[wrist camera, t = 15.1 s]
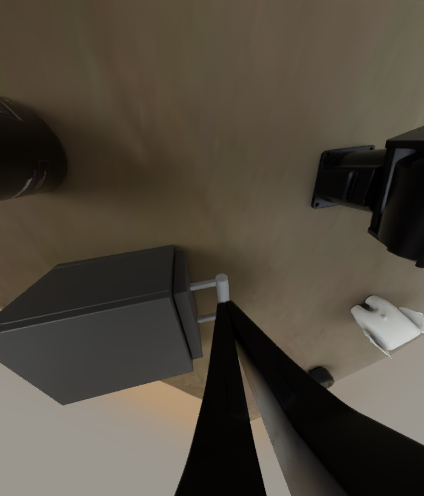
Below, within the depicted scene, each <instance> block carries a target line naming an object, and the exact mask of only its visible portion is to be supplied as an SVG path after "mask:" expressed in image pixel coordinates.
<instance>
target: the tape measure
mask: <svg viewBox="0 0 424 496" xmlns="http://www.w3.org/2000/svg"><path fill="white" fill-rule="evenodd" d="M309 375H310V376H311V377H313V378H314V379H315V380H316V381H318V382H319V383H320V384H321V385H322V386H324V387H325V388H326V389H327V388H329V387H331V386H332V385H333V384H334V380H333V377H332V375H331V374H330V372H329V371H328V370H326V369H325V368H318V369H315V370H314V371H312V372H310V373H309Z"/></svg>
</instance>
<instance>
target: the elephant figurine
mask: <svg viewBox="0 0 424 496" xmlns="http://www.w3.org/2000/svg"><path fill="white" fill-rule="evenodd" d="M365 302H366V303H367V304H368V305H369V308H370V309H371V310H372V311H367V310H365V309H364V308H362V307H361V306H360V305H356V306H354V307H353V308H352V309H351V311H350V312H351V313H352V314H353V315H354V318H355V320H356V321H357V322H358V323H359V325H360V326H361V327H362V328H363V332H364V334H365V335H366V336H367V337H368V338H370V341H371V342H372V343H373V344H374V345H376V346H377V347H378V348H379V349H380V350H381V351H383V352H384V353H385V354H386V355H388V356H389V357H390V354H389V352H388V350H393V349H395V348H397V347H398V346H400V345H402V344H404V343H406V342H408V341H410V340H411V339H413V338H415V337H417V336H418V335H419V334H420V333H424V315H423V314H422V313H420V312H415V311H412V310H410V309H408V308H404V307H400V308H398V309H397V308H396V307H395V306H393V305H392V304H391V303H389V302H388V301H386V300H384V299H382V298H379V297H377V296H374V295H373V296H370V297H368V298H367V299H366V301H365ZM364 329H365V330H364ZM367 331H368V332H369V333H370V334H371V335H369V334H368V332H367ZM390 358H391V357H390ZM391 359H392V358H391Z"/></svg>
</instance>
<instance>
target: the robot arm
mask: <svg viewBox="0 0 424 496" xmlns="http://www.w3.org/2000/svg"><path fill="white" fill-rule="evenodd" d="M385 148H386V149H379V150H374V149H375V146H374V145H368V146H359V147H351V148H343V149H334V150H326V151H324V152H323V153H322V155H321V159H320V164H319V169H318V174H317V179H316V184H315V188H314V193H313V198H312V203H311V207H312V208H322V207H329V206H335V205H343V206H347V207H351V208H355V209H359V210H363V211H367V212H371V213H373V214H372V219H371V224H370V227H369V228H368V233H369V234H370V235H372V236H373V237H375V238H376V239H377V240H379V241H380V242H381V243H383V244H384V245H385V246H387V250H388V251H389V252H391V253H393V254H395V255H397V256H399V257H402V258H405V259H408V260H411V261H415V262H416V264H415V266H416V267H419V268H424V126H422V127H419V128H417V129H414V130H411V131H409V132H406V133H404V134H401V135H399V136H396V137H393V138H391V139H388V140H387V141H386V145H385ZM326 154H327V157H326ZM315 204H316V205H315ZM238 356H239V359H240V362H241V364H242V367H243V370H244V372H245V375H246V377H247V380H248V383H249V385H250V388H251V391H252V393H253V396H254V399H255V401H256V404H257V406H258V409H259V412H260V414H261V417H262V420H263V422H264V425H265V428H266V430H267V433H268V436H269V438H270V441H271V443H272V446H273V449H274V451H275V454H276V457H277V459H278V462H279V464H280V467H281V470H282V472H283V475H284V478H285V480H286V483H287V486H288V488H289V491H290V494H291V496H424V445H422V444H420V443H418V442H417V441H414V440H413V439H411V438H409V437H406V436H405V435H403V434H401V433H399V432H397V431H395V430H393V429H391V428H389V427H387V426H385V425H383V424H381V423H379V422H377V421H375V420H373V419H371V418H369V417H367V416H365V415H363V414H361V413H359V412H357V411H356V410H354V409H353V408H351V407H349V406H348V405H346V404H345V403H344V402H342V401H341V400H339V399H338V398H337V397H336V396H334V395H333V394H332V393H331V392H330V391H328V390H327V389H326V388H325V387H324V386H322V385H321V384H320V383H319V382H318V381H316V380H315V379H314V378H313V377H311V376H310V375H309V374H308V373H307V372H305V371H304V370H303V369H302V368H301V367H300V366H298V365H297V364H296V363H295V362H294V361H293V360H292V359H291V358H290V357H288V356H287V355H286V354H285V353H284V352H283V351H282V350H281V349H280V348H279V347H278V346H276V344H275V343H274V342H273V341H272V340H271V339H270V338H269V337H268V336H267V335H266V334H265V333H264V332H263V331H262V330H261V329H260V328H259V327H258V326H257V325H256V324H255V323H254V322H253V321H252V320H251V319H250V318H249V317H248V316H247V315H246V314H245V313H244V312H243V311H242V310H241V309H240V308H239V307H238V306H237V305H236V304H235V303H234V302H233V301H231V300H229V301H225V303H224V302H220V303H218V304H217V310H216V318H215V325H214V332H213V340H212V347H211V354H210V362H209V363H210V364H209V368H208V375H207V381H206V387H205V391H204V396H203V400H202V404H201V408H200V413H199V417H198V421H197V424H196V429H195V433H194V437H193V441H192V444H191V448H190V452H189V455H188V458H187V462H186V465H185V468H184V471H183V474H182V476H181V479H180V482H179V484H178V487H177V490H176V492H175V495H174V496H267V495H266V491H265V488H264V483H263V478H262V474H261V470H260V466H259V462H258V458H257V453H256V449H255V444H254V440H253V434H252V429H251V424H250V419H249V413H248V408H247V403H246V397H245V392H244V386H243V381H242V376H241V370H240V365H239V360H238Z"/></svg>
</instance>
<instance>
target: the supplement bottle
mask: <svg viewBox="0 0 424 496" xmlns="http://www.w3.org/2000/svg"><path fill="white" fill-rule="evenodd" d="M66 171H67V160H66V155H65V152H64V149H63V147H62V145H61V143H60V141H59V139H58V138H57V136H56V135H55V133H54V132H53V131H52V130H51V128H50V127H49V126H48V125H47V124H46V123H45V122H44V121H43V120H42V119H41V118H39V117H38V116H37V115H36V114H34V113H33V112H32V111H30V110H29V109H27V108H26V107H24V106H22V105H21V104H19V103H17V102H15V101H13V100H10V99H8V98H5V97H3V96H1V95H0V201H3V200H8V199H13V198H18V197H23V196H28V195H34V194H38V193H43V192H47V191H50V190H52V189H54V188H56V187H57V186H58V185H59V184H60V183H61V182H62V181H63V179H64V177H65V175H66Z"/></svg>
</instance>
